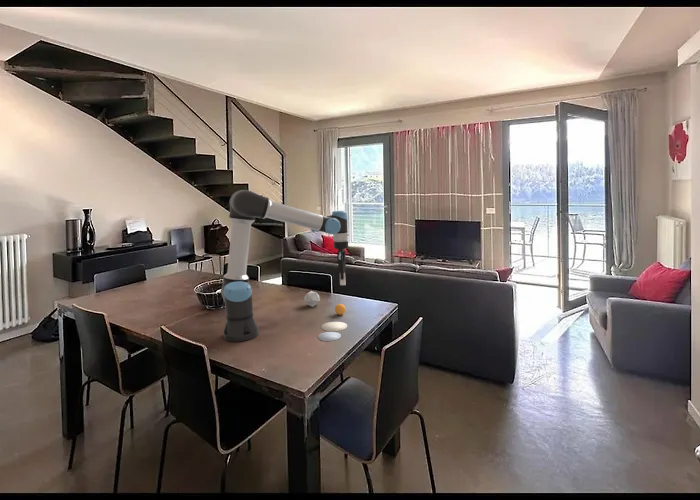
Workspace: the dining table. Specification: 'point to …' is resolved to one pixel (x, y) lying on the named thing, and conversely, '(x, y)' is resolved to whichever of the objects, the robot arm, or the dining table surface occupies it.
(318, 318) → the dining table surface
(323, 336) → the disc
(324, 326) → the disc
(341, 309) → the ball
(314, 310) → the dining table surface
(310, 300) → the die
